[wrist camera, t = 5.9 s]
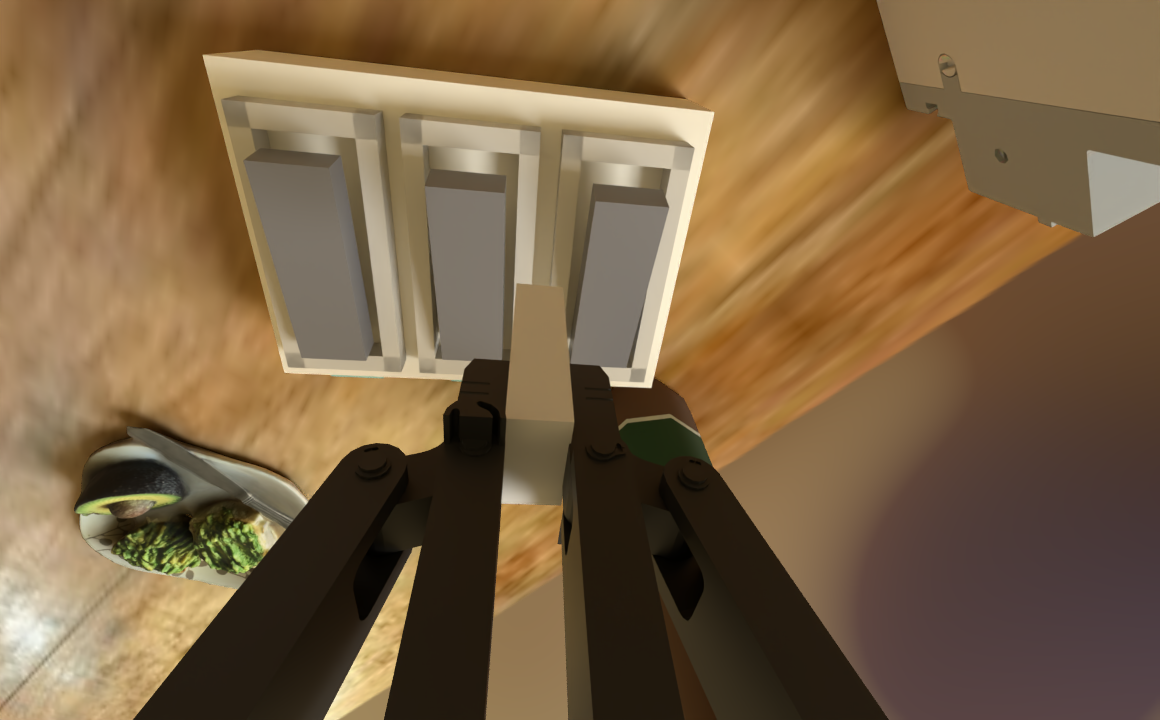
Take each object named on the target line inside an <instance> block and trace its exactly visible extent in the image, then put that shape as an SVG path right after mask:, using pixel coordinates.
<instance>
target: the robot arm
mask: <svg viewBox="0 0 1160 720" xmlns="http://www.w3.org/2000/svg"><path fill="white" fill-rule="evenodd" d="M443 425H444V442H443V443H442V444H440V445H439V446H437V447H435V448H433V449H431V450H429V451H425V452H422V453H417V454H412V455H407V456H405V454H404V453H403V452H402V451H401V450H400V449H399V448H397V447H395V446H392V445H390V444H380V443H375V444H369V445H364V446H361V447H359V448H357V449H355V450H353V451H351V452H350V453H349V454H348V455H346V456H345V457H344V458H343V459H342V460H341V461H340V463H339V464H338V465H337V466H336V468H335V469H334V470H333V471H332V473H331V474H330V475H329V476H328V478H327V479H326V480H325V481H324V483H323V484H322V485H321V486H320V488H319V489H318V490H317V491H316V493H315V494H314V495H313V496H312V498H311V499H310V500H309V501H308V503H307V504H306V505H305V506H304V508H303V509H302V510H301V511H300V513H299V514H298V515H297V516H296V518H295V519H294V520H293V521H292V523H291V524H290V525H289V526H288V527H287V529H286V530H285V531H284V532H283V534H282V535H281V536H280V537H279V539H278V540H277V541H276V542H275V544H274V545H273V546H272V547H271V549H270V550H269V551H268V552H267V554H266V555H265V556H264V557H263V559H262V560H261V561H260V562H259V564H258V565H257V566H256V567H255V569H254V570H253V571H252V572H251V574H250V575H249V576H248V577H247V579H246V580H245V581H244V582H243V584H242V585H241V586H240V587H239V588H238V590H237V591H236V592H235V593H234V595H233V596H232V597H231V598H230V600H229V601H228V602H227V603H226V605H225V606H224V607H223V608H222V610H221V611H220V612H219V613H218V615H217V616H216V617H215V618H214V620H213V621H212V622H211V623H210V625H209V626H208V627H207V628H206V630H205V631H204V632H203V633H202V635H201V636H200V637H199V638H198V640H197V641H196V642H195V643H194V645H193V646H192V647H191V648H190V649H189V651H188V652H187V653H186V654H185V656H184V657H183V658H182V659H181V661H180V662H179V663H178V664H177V666H176V667H175V668H174V669H173V671H172V672H171V673H170V674H169V676H168V677H167V678H166V679H165V681H164V682H163V683H162V684H161V686H160V687H159V688H158V689H157V691H156V692H155V693H154V694H153V696H152V697H151V698H150V699H149V701H148V702H147V703H146V704H145V706H144V707H143V708H142V709H141V710H140V712H139V713H138V714H137V715H136V717H135V718H134V719H133V720H323V719H324V717H325V716H326V714H327V712H328V710H329V708H330V706H331V704H332V702H333V700H334V698H335V697H336V695H337V693H338V691H339V689H340V687H341V685H342V683H343V681H344V679H345V677H346V676H347V674H348V672H349V670H350V668H351V666H352V664H353V662H354V660H355V658H356V657H357V655H358V653H359V651H360V649H361V647H362V645H363V643H364V641H365V639H366V637H367V636H368V634H369V632H370V630H371V628H372V626H373V624H374V622H375V620H376V618H377V617H378V615H379V613H380V611H381V609H382V607H383V605H384V603H385V601H386V599H387V597H388V596H389V594H390V592H391V590H392V588H393V586H394V584H395V582H396V580H397V578H398V577H399V575H400V573H401V571H402V569H403V567H404V565H405V563H406V561H407V559H408V557H409V556H410V554H411V552H412V548H414V547H417V546H421V545H422V547H421V552H420V556H419V561H418V566H417V570H416V575H415V579H414V584H413V588H412V593H411V598H410V602H409V607H408V611H407V616H406V621H405V625H404V630H403V634H402V639H401V644H400V648H399V653H398V657H397V662H396V666H395V671H394V676H393V680H392V685H391V690H390V694H389V699H388V703H387V708H386V712H385V717H384V720H485V719H486V705H487V692H488V678H489V665H490V652H491V639H492V626H493V612H494V599H495V585H496V572H497V558H498V545H499V531H500V517H501V503H504V504H535V505H561V502H562V496H563V514H562V520H561V526H560V533H559V539H558V544H562V566H563V592H564V618H565V643H566V670H567V696H568V720H685V718H684V713H683V709H682V704H681V699H680V694H679V689H678V684H677V679H676V674H675V669H674V664H673V659H672V654H671V649H670V645H669V640H668V635H667V630H666V625H665V620H664V615H663V610H662V605H661V600H660V595H661V597H662V599H663V601H664V604H665V606H666V608H667V610H668V613H669V615H670V617H671V619H672V621H673V624H674V626H675V628H676V630H677V632H678V635H679V637H680V639H681V641H682V643H683V646H684V648H685V650H686V652H687V654H688V657H689V659H690V661H691V663H692V665H693V668H694V670H695V672H696V674H697V676H698V679H699V681H700V683H701V685H702V687H703V690H704V692H705V694H706V696H707V698H708V701H709V703H710V705H711V707H712V709H713V712H714V714H715V716H716V718H717V720H889V719H888V718H887V716H886V715H885V714H884V712H883V711H882V709H881V708H880V706H879V705H878V704H877V702H876V700H875V699H874V698H873V696H872V695H871V693H870V692H869V690H868V689H867V688H866V686H865V685H864V683H863V682H862V680H861V679H860V677H859V676H858V675H857V673H856V672H855V670H854V669H853V667H852V666H851V664H850V663H849V661H848V660H847V659H846V657H845V656H844V654H843V653H842V651H841V650H840V648H839V647H838V645H837V644H836V643H835V641H834V640H833V638H832V637H831V635H830V634H829V632H828V631H827V629H826V628H825V627H824V625H823V624H822V622H821V621H820V619H819V618H818V616H817V615H816V614H815V612H814V611H813V609H812V608H811V606H810V605H809V603H808V602H807V600H806V599H805V598H804V596H803V595H802V593H801V592H800V590H799V589H798V587H797V586H796V584H795V583H794V581H793V580H792V579H791V577H790V576H789V574H788V573H787V571H786V570H785V568H784V567H783V566H782V564H781V563H780V561H779V560H778V558H777V557H776V555H775V554H774V553H773V551H772V550H771V548H770V547H769V545H768V544H767V542H766V541H765V539H764V538H763V536H762V535H761V534H760V532H759V531H758V529H757V528H756V526H755V525H754V523H753V522H752V521H751V519H750V518H749V516H748V515H747V513H746V512H745V510H744V509H743V507H742V506H741V505H740V503H739V502H738V500H737V499H736V497H735V496H734V494H733V493H732V492H731V490H730V489H729V487H728V486H727V484H726V483H725V481H724V480H723V478H722V477H721V476H720V474H719V473H718V472H717V471H716V470H715V469H714V468H713V467H712V465H710V464H708V463H707V462H705V461H703V460H702V459H698V458H695V457H691V456H678V457H675V458H672V459H670V461H669V462H668V463H667V464H666V465H665V466H662V465H658V464H655V463H652V462H648V461H646V460H643V459H640V458H639V457H637V456H635V455H634V454H632V453H631V452H630V450H629V448H628V446H627V444H626V443H625V442H624V441H623V440H622V439H621V438H620V433H619V428H618V423H617V417H616V412H615V407H614V402H613V396H612V391H611V386H610V381H609V377H608V375H607V374H606V373H605V372H604V370H603V369H602V368H601V367H600V366H598V365H583V364H569V353H568V341H567V329H566V318H565V306H564V294H563V287H554V286H542V285H531V284H519V283H516V295H515V307H514V318H513V330H512V342H511V353H510V361H506V360H491V359H476V358H474V359H473V360H472V361H471V362H470V363H469V364H468V365H467V367H466V368H465V369H464V373H463V378H462V383H461V387H460V393H459V397H458V401H456V402H454V403H453V404H451V405H450V406H449V407H447V409H446V411H445V413H444V415H443ZM659 593H660V595H659Z"/></svg>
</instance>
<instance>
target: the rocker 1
mask: <svg viewBox="0 0 1160 720" xmlns="http://www.w3.org/2000/svg"><path fill="white" fill-rule="evenodd" d="M243 162H244V165H245V168H246V172H247V175H248V179H249V182H250V185H251V189H252V192H253V196H254V199H255V202H256V206H257V209H258V212H259V216H260V219H261V223H262V226H263V229H264V233H265V236H266V239H267V243H268V246H269V250H270V253H271V256H272V260H273V263H274V266H275V270H276V273H277V277H278V280H279V283H280V287H281V290H282V294H283V297H284V300H285V304H286V307H287V310H288V314H289V317H290V321H291V324H292V327H293V331H294V334H295V337H296V341H297V344H298V348H299V351H300V354H301V358H310V359H332V360H355V361H367V358H368V356H369V353H370V351H371V348H372V346H373V344H374V340H373V334H372V329H371V323H370V317H369V312H368V306H367V300H366V295H365V289H364V283H363V278H362V272H361V266H360V261H359V255H358V249H357V244H356V238H355V233H354V227H353V221H352V216H351V210H350V204H349V199H348V193H347V187H346V182H345V176H344V170H343V165H342V159H341V155H332V154H321V153H310V152H299V151H288V150H277V149H267V148H260V149H258V150H257V151H255V152H254V153H253V154H251V155H250V156H248V157H247V158H246V159H244V160H243Z"/></svg>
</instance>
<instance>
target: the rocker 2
mask: <svg viewBox="0 0 1160 720" xmlns="http://www.w3.org/2000/svg"><path fill="white" fill-rule="evenodd" d="M425 195H426V205H427V215H428V225H429V235H430V244H431V254H432V264H433V274H434V283H435V293H436V303H437V313H438V322H439V332H440V342H441V352H442V360H460V361H472V360H473V359H474V358H476V359H491V360H502V353H503V334H504V280H505V227H506V175H495V174H484V173H473V172H462V171H451V170H441V169H430V172H429V175H428V178H427V181H426V184H425Z"/></svg>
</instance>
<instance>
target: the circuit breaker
mask: <svg viewBox="0 0 1160 720" xmlns="http://www.w3.org/2000/svg"><path fill="white" fill-rule="evenodd" d="M876 1H877V4H878V8H879V12H880V15H881V19H882V22H883V26H884V29H885V33H886V36H887V40H888V44H889V47H890V51H891V54H892V58H893V61H894V65H895V68H896V72H897V76H898V79H899V83H900V86H901V90H902V93H903V97H904V100H905V104H906V107H907V109H908V110H913V111H917V112H922V113H926V114H930V113H932V112H933V111H935V110H936V109H938V115H937V116H939V117H944V118H948V119H951V120H952V121H953V126H954V130H955V134H956V138H957V142H958V146H959V151H960V155H961V159H962V163H963V167H964V171H965V176H966V180H967V184H968V188H969V190H970V191H971V192H974V193H977V194H979V195H982V196H985V197H987V198H990V199H992V200H995V201H998V202H1000V203H1003V204H1006V205H1008V206H1011V207H1013V208H1016V209H1019V210H1021V211H1024V212H1027V213H1029V214H1032V215H1035V216H1037V217H1038V221H1039V223H1042V224H1045V225H1047V226H1050V227H1053V226H1055V225H1057V224H1058V225H1061V226H1064V227H1066V228H1069V229H1072V230H1074V231H1077V232H1080V233H1082V234H1085V235H1088V236H1091V237H1095V236H1097V235H1099V234H1101V233H1102V232H1104V231H1106V230H1108V229H1110V228H1112V227H1114V226H1116V225H1117V224H1119V223H1121V222H1123V221H1125V220H1127V219H1128V218H1130V217H1132V216H1134V215H1136V214H1138V213H1140V212H1142V211H1144V210H1145V209H1147V208H1149V207H1151V206H1153V205H1155V204H1157V203H1158V202H1160V0H876Z"/></svg>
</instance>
